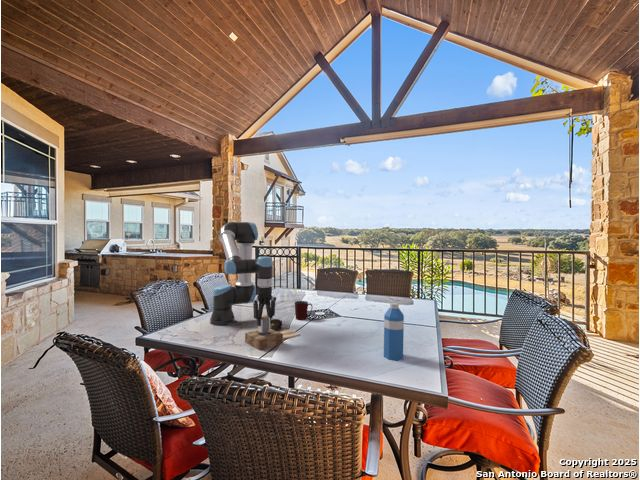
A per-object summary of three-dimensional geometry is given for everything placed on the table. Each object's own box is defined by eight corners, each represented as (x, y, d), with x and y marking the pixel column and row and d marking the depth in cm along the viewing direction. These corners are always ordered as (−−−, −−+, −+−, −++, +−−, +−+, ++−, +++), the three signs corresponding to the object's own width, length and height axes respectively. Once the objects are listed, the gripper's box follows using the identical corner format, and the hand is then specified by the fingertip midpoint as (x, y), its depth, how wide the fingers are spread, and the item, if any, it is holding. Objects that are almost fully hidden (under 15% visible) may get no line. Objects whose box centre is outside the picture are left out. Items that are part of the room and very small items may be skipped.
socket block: (245, 342, 157) (245, 333, 157) (267, 336, 166) (267, 327, 166) (259, 350, 147) (259, 340, 146) (282, 343, 156) (282, 333, 156)
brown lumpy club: (270, 335, 166) (269, 325, 166) (259, 334, 168) (259, 324, 169) (284, 327, 183) (283, 317, 183) (274, 326, 185) (274, 317, 185)
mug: (313, 317, 206) (313, 301, 206) (311, 320, 198) (311, 304, 197) (296, 316, 208) (296, 300, 208) (293, 320, 199) (293, 303, 199)
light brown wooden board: (270, 334, 170) (270, 333, 170) (287, 330, 178) (287, 329, 178) (282, 340, 161) (282, 338, 161) (300, 335, 169) (300, 334, 169)
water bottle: (380, 352, 145) (381, 301, 145) (399, 352, 146) (400, 301, 145) (386, 360, 136) (387, 306, 135) (406, 360, 137) (407, 305, 136)
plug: (258, 342, 157) (259, 315, 157) (265, 340, 160) (265, 314, 159) (263, 344, 154) (263, 317, 154) (269, 342, 157) (269, 316, 156)
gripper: (254, 289, 148) (253, 336, 148) (282, 285, 159) (281, 329, 160) (246, 287, 153) (246, 332, 153) (274, 283, 165) (273, 325, 165)
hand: (264, 330), depth 157 cm, fingers closed on plug, 4 cm apart
